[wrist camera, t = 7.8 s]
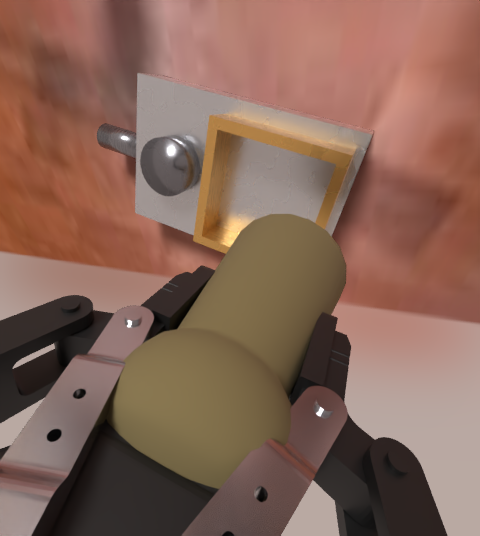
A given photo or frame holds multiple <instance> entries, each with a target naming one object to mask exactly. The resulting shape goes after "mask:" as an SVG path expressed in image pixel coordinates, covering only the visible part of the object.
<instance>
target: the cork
mask: <svg viewBox="0 0 480 536" xmlns="http://www.w3.org/2000/svg"><path fill="white" fill-rule="evenodd" d="M345 284H346V263H345V260H344V257H343V255H342V252H341V249H340V247H339V245H338V244H337V243H336V242H335V240H334V239H333V238H332V237H331V235H330V234H329V233H328V232H327V231H326V230H325V229H323V228H322V227H320V226H319V225H317V224H316V223H314V222H313V221H311V220H309V219H306V218H303V217H299V216H296V215H293V214H270V215H267V216H264V217H261V218H258V219H256V220H253V221H252V222H251V223H250V224H249V225H247V226H246V227H245V228H244V229H242V230H241V231H240V233H239V235H238V236H237V238H236V239H235V241H234V242H233V244H232V245H231V247H230V248H229V250H228V252H227V253H226V255H225V256H224V258H223V259H222V261H221V262H220V264H219V265H218V267H217V268H216V270H215V273H214V274H213V275H212V277H211V278H210V279H209V281H208V282H207V284H206V285H205V287H204V289H203V290H202V292H201V293H200V295H199V296H198V298H197V299H196V301H195V302H194V304H193V306H192V307H191V309H190V310H189V312H188V313H187V315H186V316H185V318H184V319H183V321H182V322H181V324H180V326H179V327H178V329H176V330H170V331H164V332H162V333H160V334H158V335H156V336H155V337H153V338H151V339H149V340H148V341H146V342H144V343H143V344H142V345H140V346H139V347H137V348H136V349H135V350H133V351H132V352H131V353H130V354H129V355H128V356H127V357H126V358H125V359H124V360H123V362H125V367H124V368H123V370H122V372H121V374H120V377H119V379H118V382H117V385H116V388H115V391H114V394H113V397H112V400H111V403H110V409H109V413H108V415H107V417H106V419H107V421H108V423H109V424H110V425H111V426H112V427H113V428H114V429H115V430H116V431H117V432H118V433H119V435H120V436H122V437H123V438H124V439H125V440H126V441H127V442H128V443H130V444H131V445H132V446H133V447H134V448H135V449H137V450H138V451H139V452H141V453H142V454H144V455H145V456H147V457H149V458H150V459H152V460H154V461H156V462H157V463H159V464H161V465H163V466H164V467H166V468H168V469H169V470H171V471H173V472H175V473H176V474H178V475H180V476H182V477H185V478H187V479H189V480H192V481H195V482H198V483H201V484H204V485H206V486H210V487H213V488H217V489H220V488H221V487H222V485H223V484H224V483H225V482H226V480H227V479H228V478H229V477H230V476H231V474H232V473H233V472H234V471H235V469H236V468H237V467H238V466H239V465H240V463H241V462H242V461H243V460H244V459H245V457H246V456H247V455H248V454H249V452H250V451H252V450H255V449H258V448H260V447H261V446H262V444H263V443H264V442H265V441H266V440H268V439H270V438H274V439H276V440H278V441H279V442H280V443H281V444H282V445H286V443H287V441H288V437H289V433H290V429H291V410H290V408H291V407H292V405H291V403H290V401H289V397H290V395H291V393H292V391H293V388H294V386H295V383H296V381H297V378H298V375H299V372H300V369H301V366H302V363H303V361H304V358H305V355H306V352H307V349H308V346H309V343H310V340H311V337H312V334H313V331H314V328H315V325H316V322H317V320H318V318H319V316H320V315H321V313H322V312H324V313H327V314H329V315H331V314H332V312H333V310H334V308H335V306H336V304H337V302H338V300H339V298H340V296H341V294H342V291H343V289H344V286H345ZM257 500H258V499H257ZM258 501H259V500H258ZM259 502H260V501H259Z"/></svg>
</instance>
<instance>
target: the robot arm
mask: <svg viewBox="0 0 480 536" xmlns="http://www.w3.org/2000/svg"><path fill="white" fill-rule="evenodd" d="M214 273H215V270H213V269H210V268H208V267H205V266H200V267H199V268H198V269H197V270H196V271H194V272H193V273H192V274H191V273H189V272H185V273H182V274H179V275H177V276H175V277H174V278H173V279H172V280H171V281H169V283H167V284H166V285H164V286H163V288H162V289H160V290H159V291H157V293H155V294H154V295H153V296H151V297H150V298H149V299H148V300H147V301H146V302H144V303H143V304H142V305H141V306H127V307H124V308H121V309H119V310H118V311H117V312H116V313H107V312H101V311H95V310H93V304H92V302H91V300H90V299H88V298H86V297H84V296H79V295H71V296H65V297H62V298H59V299H56V300H54V301H51V302H49V303H46V304H43V305H41V306H38V307H35V308H33V309H30V310H28V311H25V312H22V313H19V314H17V315H14V316H12V317H9V318H6V319H4V320H1V321H0V423H2V422H3V421H5V420H7V419H8V418H10V417H12V416H14V415H15V414H17V413H19V412H21V411H22V410H24V409H26V408H27V407H29V406H31V405H33V404H34V403H36V402H38V401H39V400H41V399H43V398H45V399H44V400H43V401H42V403H41V404H40V406H39V407H38V408H37V410H36V411H35V413H34V414H33V415H32V417H31V418H30V420H29V421H28V422H27V424H26V425H25V427H24V428H23V429H22V431H21V432H20V434H19V435H18V437H17V438H16V439H15V441H14V442H13V443H12V445H10V446H7V447H5V448H2V449H0V536H281V534H282V532H283V531H284V529H285V527H286V525H287V524H288V522H289V520H290V518H291V517H292V515H293V513H294V511H295V510H296V508H297V506H298V505H299V503H300V501H301V499H302V498H303V496H304V494H305V492H306V491H307V489H308V487H309V486H310V484H311V482H312V480H314V481H315V482H316V483H317V484H318V485H319V486H320V487H321V488H322V489H323V490H324V491H325V492H326V493H327V494H328V495H329V496H331V498H333V499H334V500H335V505H336V512H337V519H338V527H339V534H340V536H447V533H446V531H445V528H444V525H443V522H442V520H441V517H440V515H439V512H438V509H437V507H436V504H435V501H434V499H433V496H432V494H431V490H430V488H429V485H428V482H427V480H426V477H425V474H424V472H423V469H422V467H421V465H420V463H419V461H418V460H417V458H416V457H415V455H414V454H413V453H412V452H411V451H410V450H409V449H408V448H407V447H406V446H404V445H403V444H402V443H400V442H398V441H396V440H394V439H391V438H385V437H383V438H378V439H376V440H374V439H373V438H372V437H371V436H369V435H368V434H367V433H366V432H364V431H363V430H362V429H361V428H359V427H358V426H357V425H356V424H355V423H354V422H353V420H352V419H351V418H350V416H349V415H348V412H347V408H346V406H345V403H344V398H345V389H346V382H347V373H348V365H349V357H350V350H351V345H350V342H349V340H348V337H347V335H345V334H342V333H340V332H337V331H335V329H336V324H337V319H338V318H337V317H334V316H332V315H329V314H327V313H324V312H322V313H321V315H320V316H319V318H318V320H317V322H316V325H315V328H314V331H313V334H312V337H311V340H310V343H309V346H308V349H307V352H306V355H305V358H304V361H303V363H302V366H301V369H300V372H299V375H298V378H297V381H296V383H295V386H294V388H293V391H292V393H291V395H290V397H289V401H290V403H291V405H292V407H291V408H290V410H291V429H290V433H289V437H288V441H287V443H286V445H282V444H281V443H280V442H279V441H278V440H276V439H274V438H270V439H268V440H266V441H265V442H264V443H263V444H262V446H261V447H260V448H258V449H255V450H252V451H250V452H249V454H248V455H247V456H246V457H245V459H244V460H243V461H242V462H241V463H240V465H239V466H238V467H237V468H236V469H235V471H234V472H233V473H232V474H231V476H230V477H229V478H228V479H227V480H226V482H225V483H224V484H223V485H222V487H221V488H220V489H217V488H213V487H210V486H206V485H204V484H201V483H198V482H195V481H192V480H189V479H187V478H185V477H182V476H180V475H178V474H176V473H175V472H173V471H171V470H169V469H168V468H166V467H164V466H163V465H161V464H159V463H157V462H156V461H154V460H152V459H150V458H149V457H147V456H145V455H144V454H142V453H141V452H139V451H138V450H137V449H135V448H134V447H133V446H132V445H131V444H130V443H128V442H127V441H126V440H125V439H124V438H123V437H122V436H120V435H119V433H118V432H117V431H116V430H115V429H114V428H113V427H112V426H111V425H110V424H109V423H108V421H107V419H106V417H107V415H108V413H109V409H110V403H111V400H112V397H113V394H114V391H115V388H116V385H117V382H118V379H119V377H120V374H121V372H122V370H123V368H124V367H125V362H123V360H124V359H125V358H126V357H127V356H128V355H129V354H130V353H131V352H132V351H133V350H135V349H136V348H137V347H139V346H140V345H142V344H143V343H144V342H146V341H148V340H149V339H151V338H153V337H155V336H156V335H158V334H160V333H162V332H164V331H170V330H176V329H178V327H179V326H180V324H181V322H182V321H183V319H184V318H185V316H186V315H187V313H188V312H189V310H190V309H191V307H192V306H193V304H194V302H195V301H196V299H197V298H198V296H199V295H200V293H201V292H202V290H203V289H204V287H205V285H206V284H207V282H208V281H209V279H210V278H211V277H212V275H213V274H214ZM53 343H54V345H55V349H54V350H51V351H49V352H47V353H45V354H43V355H41V356H39V357H37V358H35V359H33V360H31V361H29V362H27V363H25V364H23V365H21V366H19V367H17V368H14V369H12V368H13V366H14V365H15V363H16V362H17V361H19V360H20V359H22V358H24V357H26V356H28V355H30V354H32V353H34V352H36V351H38V350H40V349H42V348H45V347H47V346H49V345H51V344H53ZM257 499H258V500H259V501H260V502H259V501H258V500H257Z"/></svg>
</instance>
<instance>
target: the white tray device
mask: <svg viewBox="0 0 480 536" xmlns="http://www.w3.org/2000/svg"><path fill="white" fill-rule="evenodd" d="M373 132H374V130H370V129H366V128H363V127H359V126H355V125H351V124H347V123H343V122H340V121H336V120H332V119H328V118H324V117H320V116H317V115H313V114H309V113H305V112H301V111H297V110H293V109H290V108H286V107H282V106H278V105H274V104H270V103H267V102H263V101H259V100H255V99H251V98H247V97H244V96H240V95H236V94H232V93H228V92H224V91H220V90H217V89H213V88H209V87H205V86H201V85H197V84H194V83H190V82H186V81H182V80H178V79H174V78H171V77H167V76H161V75H152V74H143V73H137V133H135V132H132V131H129V130H126V129H123V128H120V127H116V126H113V125H110V124H107V123H105V124H102V125H101V126H100V127H99V129H98V132H97V140H98V143H99V145H100V146H101V147H103V148H106V149H109V150H112V151H115V152H118V153H121V154H124V155H127V156H130V157H133V158H136V198H135V213H137V214H140V215H142V216H145V217H147V218H150V219H152V220H155V221H158V222H160V223H163V224H165V225H168V226H171V227H173V228H176V229H178V230H181V231H183V232H186V233H189V234H191V235H194V237H193V241H194V242H197V243H199V244H202V245H204V246H207V247H209V248H212V249H215V250H217V251H220V252H222V253H225V254H226V253H227V252H228V250H229V248H230V247H231V245H232V244H233V242H234V241H235V239H236V238H237V236H238V235H239V233H240V231H241V230H242V229H244V228H245V227H246V226H247V225H249V224H250V223H251V222H252V221H253V220H256V219H258V218H261V217H264V216H267V215H270V214H293V215H296V216H299V217H303V218H306V219H309V220H311V221H313V222H314V223H316V224H317V225H319V226H320V227H322V228H323V229H325V230H326V231H327V232H328V233H329V234H330V235H331V237H332V234H333V232H334V229H335V227H336V224H337V222H338V219H339V217H340V214H341V212H342V209H343V207H344V204H345V202H346V199H347V197H348V194H349V192H350V190H351V187H352V185H353V182H354V180H355V177H356V175H357V172H358V170H359V167H360V165H361V162H362V160H363V157H364V155H365V152H366V150H367V147H368V145H369V142H370V140H371V137H372V135H373Z"/></svg>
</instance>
